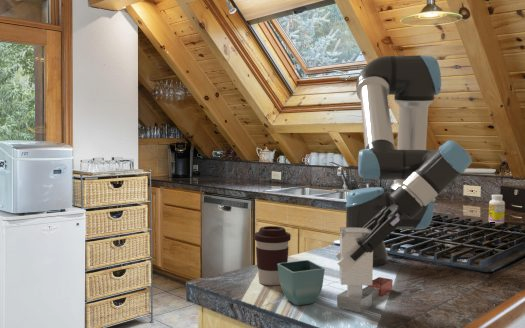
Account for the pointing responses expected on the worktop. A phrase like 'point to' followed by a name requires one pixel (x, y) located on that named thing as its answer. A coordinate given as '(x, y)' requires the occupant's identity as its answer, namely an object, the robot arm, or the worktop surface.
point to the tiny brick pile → (363, 294)
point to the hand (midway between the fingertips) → (340, 263)
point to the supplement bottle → (496, 209)
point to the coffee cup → (271, 252)
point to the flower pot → (301, 281)
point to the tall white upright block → (364, 266)
